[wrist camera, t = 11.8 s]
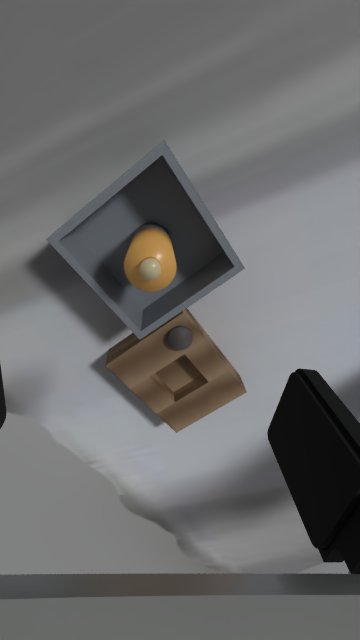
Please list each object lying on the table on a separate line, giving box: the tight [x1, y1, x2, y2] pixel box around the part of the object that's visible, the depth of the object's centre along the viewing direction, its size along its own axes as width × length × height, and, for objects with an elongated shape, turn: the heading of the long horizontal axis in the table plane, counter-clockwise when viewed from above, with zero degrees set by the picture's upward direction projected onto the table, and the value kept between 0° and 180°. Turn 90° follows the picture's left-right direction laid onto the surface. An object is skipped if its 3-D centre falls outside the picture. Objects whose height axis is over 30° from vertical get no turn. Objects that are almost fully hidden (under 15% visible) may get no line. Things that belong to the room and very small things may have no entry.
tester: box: [105, 308, 246, 433], centre depth 37 cm, size 14×11×4 cm
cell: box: [124, 222, 176, 292], centre depth 26 cm, size 4×4×10 cm
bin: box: [46, 140, 245, 339], centre depth 28 cm, size 12×12×6 cm
